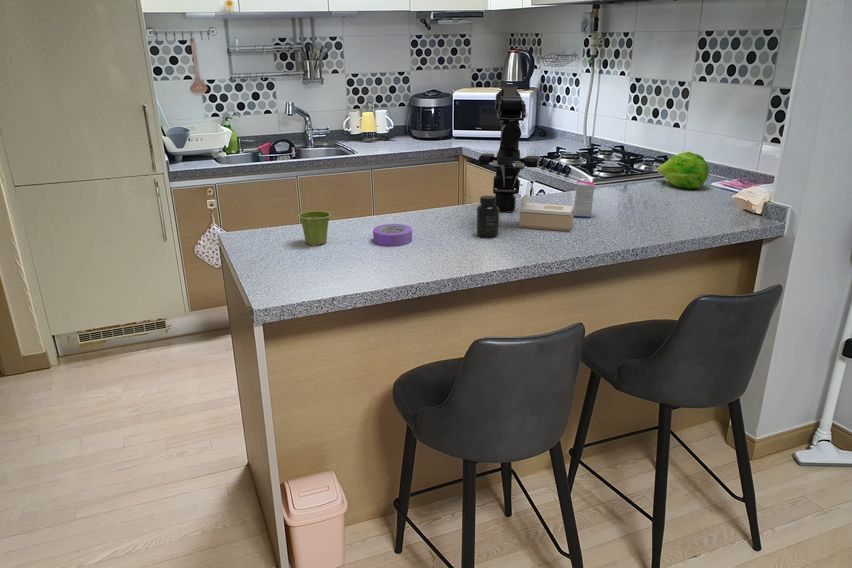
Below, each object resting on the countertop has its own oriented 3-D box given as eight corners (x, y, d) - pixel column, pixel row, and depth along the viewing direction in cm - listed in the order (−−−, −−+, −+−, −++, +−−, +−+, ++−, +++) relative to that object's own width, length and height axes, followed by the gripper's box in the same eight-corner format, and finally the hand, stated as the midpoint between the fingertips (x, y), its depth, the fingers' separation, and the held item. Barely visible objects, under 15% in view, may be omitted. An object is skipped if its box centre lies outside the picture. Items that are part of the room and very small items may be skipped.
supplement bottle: (500, 233, 208) (502, 195, 204) (495, 239, 202) (496, 200, 198) (479, 231, 210) (480, 193, 206) (473, 237, 204) (474, 198, 200)
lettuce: (644, 189, 275) (669, 190, 283) (690, 187, 256) (716, 188, 263) (645, 153, 274) (670, 155, 281) (692, 148, 254) (718, 150, 262)
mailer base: (519, 227, 214) (519, 212, 212) (523, 221, 221) (524, 206, 219) (569, 231, 209) (571, 216, 208) (572, 225, 216) (573, 210, 215)
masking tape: (399, 249, 194) (398, 236, 192) (365, 243, 199) (365, 231, 198) (419, 238, 203) (419, 226, 202) (386, 233, 209) (386, 221, 207)
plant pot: (303, 238, 204) (301, 210, 200) (334, 238, 203) (333, 210, 200) (297, 247, 195) (295, 218, 192) (329, 247, 195) (327, 218, 191)
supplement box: (591, 218, 224) (594, 184, 220) (573, 217, 225) (576, 184, 221) (591, 214, 230) (593, 181, 226) (573, 213, 231) (576, 180, 227)
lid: (520, 211, 212) (521, 199, 210) (524, 205, 219) (525, 193, 218) (570, 215, 207) (571, 202, 206) (573, 209, 215) (574, 196, 213)
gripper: (474, 140, 204) (473, 190, 210) (535, 143, 199) (532, 194, 205) (482, 135, 214) (481, 183, 220) (541, 138, 209) (538, 187, 215)
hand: (507, 187), depth 215 cm, fingers open, 3 cm apart
